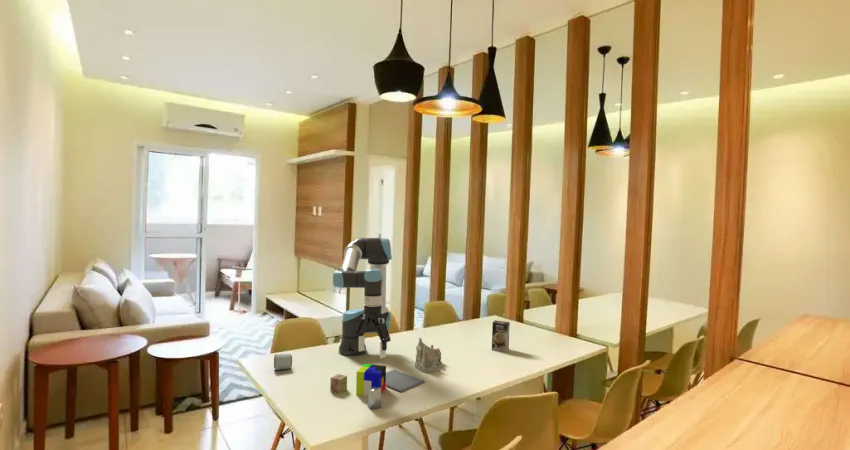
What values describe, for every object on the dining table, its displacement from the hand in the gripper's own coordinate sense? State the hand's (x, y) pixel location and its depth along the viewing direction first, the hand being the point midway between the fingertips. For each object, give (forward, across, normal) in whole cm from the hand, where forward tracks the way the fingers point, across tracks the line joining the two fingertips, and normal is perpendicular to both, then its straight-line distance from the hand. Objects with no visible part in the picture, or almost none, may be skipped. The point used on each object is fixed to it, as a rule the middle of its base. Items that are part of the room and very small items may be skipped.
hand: (371, 354), depth 183 cm
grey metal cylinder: (+16, +12, -9) cm, 22 cm away
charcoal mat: (+16, 0, +16) cm, 23 cm away
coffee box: (+16, +10, +91) cm, 93 cm away
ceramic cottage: (+16, -2, +42) cm, 45 cm away
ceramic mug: (+16, -53, -11) cm, 57 cm away
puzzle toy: (+17, 0, 0) cm, 17 cm away
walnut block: (+16, -11, -9) cm, 22 cm away
